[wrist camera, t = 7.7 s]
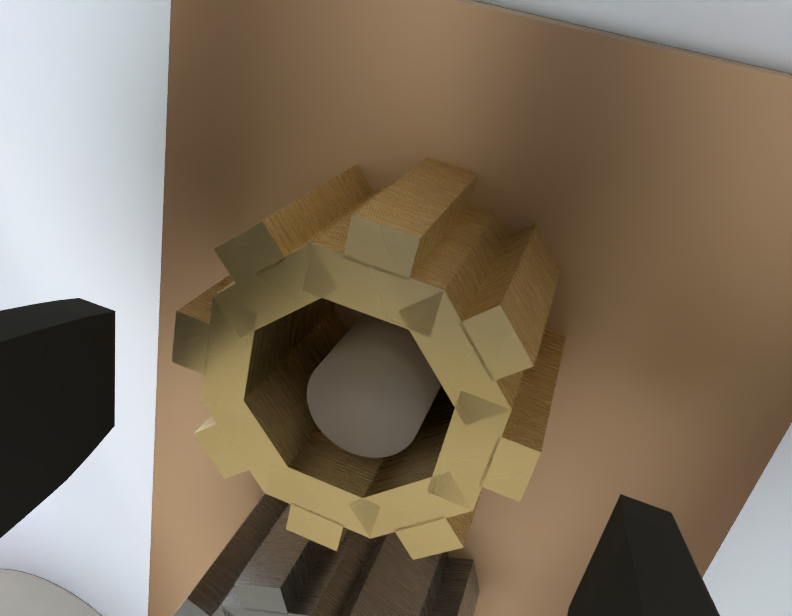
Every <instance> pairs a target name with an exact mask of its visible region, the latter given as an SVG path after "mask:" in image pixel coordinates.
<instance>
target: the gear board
mask: <svg viewBox="0 0 792 616" xmlns="http://www.w3.org/2000/svg"><path fill="white" fill-rule="evenodd" d="M427 157H428V158H431V159H434V160H437V161H441V162H444V163H447V164H450V165H453V166H456V167H459V168H462V169H466V170H469V171H472V172H475V173H478V176H477V179H476V182H475V186H474V189H473V192H472V196H471V199H470V203H469V204H470V205H473V206H476V207H479V208H482V209H485V210H488V211H491V212H494V213H495V214H496V216H497V218H498V219H499V221H500V223H501V225H502V227H503V229H504V231H505V233H506V234H507V236H510V235H512V234H514V233H516V232H519V231H521V230H523V229H525V228H527V227H529V226H531V225H533V224H536V223H537V224H538V226H539V228H540V229H541V231H542V233H543V235H544V237H545V239H546V241H547V243H548V245H549V247H550V249H551V250H552V252H553V254H554V256H555V258H556V260H557V262H558V264H559V266H560V268H561V272H560V276H559V279H558V283H557V286H556V290H555V293H554V297H553V301H552V304H551V308H550V311H549V315H548V318H547V322H546V325H545V329H544V330H546V331H549V332H552V333H554V334H557V335H560V336H563V337H566V339H565V343H564V348H563V353H562V357H561V362H560V367H559V371H558V376H557V381H556V386H555V390H554V395H553V400H552V404H551V409H550V414H549V418H548V423H547V428H546V433H545V437H544V442H543V447H542V451H541V454H540V457H539V459H538V461H537V464H536V466H535V468H534V471H533V473H532V475H531V478H530V480H529V483H528V485H527V487H526V490H525V492H524V494H523V497H522V499H521V501H520V502H518V501H516V500H513V499H511V498H508V497H506V496H503V495H501V494H498V493H496V492H493V491H491V490H488V489H486V488H484V487H483V488H482V491H481V494H480V497H479V500H478V504H477V507H476V510H475V513H474V516H473V519H472V522H471V526H470V529H469V532H468V535H467V538H466V541H465V545H464V548H460V549H456V550H452V551H448V555H449V558H460V559H472V560H474V564H475V569H476V575H477V580H478V586H479V591H480V593H479V596H478V600H477V604H476V608H475V611H474V615H473V616H567V614H568V608H569V606H570V603H571V601H572V599H573V597H574V595H575V592H576V590H577V588H578V586H579V584H580V582H581V579H582V577H583V575H584V573H585V571H586V568H587V566H588V564H589V562H590V560H591V557H592V555H593V553H594V551H595V549H596V547H597V544H598V542H599V540H600V538H601V536H602V533H603V531H604V529H605V527H606V525H607V522H608V520H609V518H610V516H611V514H612V512H613V509H614V507H615V505H616V503H617V501H618V498H619V496H620V494H622V495H625V496H628V497H630V498H633V499H636V500H639V501H641V502H644V503H647V504H650V505H652V506H655V507H658V508H661V509H663V510H666V511H669V512H671V513H672V515H673V517H674V519H675V521H676V523H677V525H678V527H679V529H680V531H681V533H682V536H683V538H684V540H685V542H686V544H687V546H688V549H689V551H690V553H691V555H692V557H693V560H694V562H695V564H696V566H697V568H698V570H699V573H700V575H701V577H703V575H704V574H705V572H706V570H707V568H708V567H709V565H710V563H711V561H712V560H713V558H714V556H715V554H716V553H717V551H718V549H719V548H720V546H721V544H722V542H723V541H724V539H725V537H726V535H727V534H728V532H729V530H730V528H731V527H732V525H733V523H734V521H735V520H736V518H737V516H738V515H739V513H740V511H741V509H742V508H743V506H744V504H745V502H746V501H747V499H748V497H749V495H750V494H751V492H752V490H753V488H754V487H755V485H756V483H757V481H758V480H759V478H760V476H761V475H762V473H763V471H764V469H765V468H766V466H767V464H768V462H769V461H770V459H771V457H772V455H773V454H774V452H775V450H776V448H777V447H778V445H779V443H780V442H781V440H782V438H783V436H784V435H785V433H786V431H787V429H788V428H789V426H790V424H791V422H792V74H788V73H783V72H779V71H775V70H770V69H766V68H762V67H757V66H753V65H749V64H744V63H740V62H736V61H732V60H727V59H723V58H719V57H714V56H710V55H706V54H701V53H697V52H693V51H688V50H684V49H680V48H675V47H671V46H667V45H663V44H658V43H654V42H650V41H645V40H641V39H637V38H632V37H628V36H624V35H619V34H615V33H611V32H606V31H602V30H598V29H594V28H589V27H585V26H581V25H576V24H572V23H568V22H563V21H559V20H555V19H550V18H546V17H542V16H538V15H533V14H529V13H525V12H520V11H516V10H512V9H507V8H503V7H499V6H494V5H490V4H486V3H481V2H477V1H473V0H171V18H170V45H169V71H168V98H167V125H166V151H165V178H164V204H163V231H162V257H161V284H160V310H159V337H158V363H157V390H156V417H155V443H154V470H153V496H152V523H151V549H150V576H149V602H148V616H173V615H174V613H175V612H176V611H177V609H178V608H179V607H180V605H181V604H182V603H183V601H184V600H185V599H186V597H187V596H188V595H189V593H190V592H191V591H192V589H193V588H194V587H195V585H196V584H197V583H198V581H199V580H200V579H201V577H202V576H203V575H204V573H205V572H206V571H207V569H208V568H209V567H210V565H211V564H212V563H213V561H214V560H215V559H216V557H217V556H218V555H219V553H220V552H221V551H222V549H223V548H224V547H225V545H226V544H227V543H228V541H229V540H230V539H231V537H232V536H233V535H234V533H235V532H236V531H237V529H238V528H239V527H240V525H241V524H242V523H243V521H244V520H245V519H246V517H247V516H248V515H249V513H250V512H251V511H252V509H253V508H254V507H255V505H256V504H257V503H258V501H259V500H260V499H261V498H262V496H263V495H264V494H265V493H264V491H263V490H262V488H261V487H260V485H259V484H258V483H257V481H256V480H255V478H254V477H253V475H252V474H251V472H250V471H249V470H248V471H245V472H242V473H240V474H237V475H234V476H231V477H229V478H226V479H224V478H223V476H222V475H221V473H220V472H219V470H218V469H217V467H216V466H215V465H214V463H213V462H212V460H211V459H210V457H209V456H208V454H207V453H206V452H205V450H204V449H203V447H202V446H201V444H200V443H199V442H198V440H197V439H196V437H195V436H194V433H195V432H196V431H197V430H198V429H199V428H200V427H201V426H202V425H203V424H204V423H205V422H206V421H207V420H208V419H209V418H210V417H211V416H212V415H211V414H210V412H209V411H208V409H207V408H206V406H205V405H204V403H203V402H202V400H201V393H202V385H203V376H204V375H203V374H200V373H198V372H195V371H193V370H190V369H188V368H185V367H183V366H180V365H178V364H175V363H173V362H172V352H173V341H174V329H175V318H176V311H177V310H179V309H180V308H181V307H183V306H184V305H186V304H187V303H189V302H190V301H192V300H193V299H195V298H196V297H198V296H199V295H200V294H202V293H203V292H205V291H206V290H208V289H209V288H211V287H212V286H214V285H215V284H217V283H218V282H219V281H221V280H222V279H224V278H225V277H227V276H228V275H230V274H229V272H228V271H227V269H226V268H225V266H224V264H223V263H222V261H221V260H220V258H219V257H218V255H217V253H216V252H215V250H214V249H215V248H217V247H219V246H220V245H222V244H224V243H225V242H227V241H229V240H230V239H232V238H234V237H235V236H237V235H239V234H240V233H242V232H244V231H245V230H247V229H249V228H250V227H252V226H254V225H255V224H257V223H259V222H260V221H262V220H264V219H265V218H267V217H269V216H270V215H272V214H274V213H275V212H277V211H279V210H280V209H282V208H284V207H285V206H287V205H289V204H290V203H292V202H294V201H295V200H297V199H299V198H300V197H302V196H304V195H305V194H307V193H309V192H310V191H312V190H314V189H315V188H317V187H319V186H320V185H322V184H324V183H326V182H327V181H329V180H331V179H332V178H334V177H336V176H338V175H339V174H341V173H343V172H344V171H346V170H348V169H349V168H351V167H353V166H355V165H356V164H358V166H359V168H360V170H361V171H362V173H363V175H364V177H365V178H366V180H367V182H368V183H369V185H370V187H371V189H372V190H373V191H375V190H377V189H379V188H381V187H382V186H384V185H386V184H388V183H390V182H391V181H393V180H398V179H400V178H401V177H402V176H404V175H405V174H406V173H407V172H409V171H410V170H411V169H413V168H414V167H415V166H417V165H418V164H419V163H420V162H422V161H423V160H424V159H426V158H427ZM334 309H335V311H336V313H337V314H338V316H339V318H340V319H341V321H342V322H343V324H344V326H345V327H346V329H347V331H348V332H347V333H346V334H345V335H344V336H343V338H342V339H341V340H340V341H339V342H338V343H337V345H336V346H335V347H334V348H333V349H332V350H331V351H330V353H329V354H328V355H327V356H326V357H325V358H324V360H323V361H322V362H321V363H320V364H319V365H318V367H317V368H316V369H315V370H314V372H313V373H312V375H311V377H310V380H309V383H308V387H307V402H308V407H309V410H310V413H311V415H312V418H313V420H314V421H315V423H316V425H317V426H318V428H319V429H320V430H321V431H322V433H323V434H324V435H325V436H326V437H327V438H328V439H329V440H331V441H332V442H333V443H334V444H336V445H337V446H339V447H340V448H342V449H344V450H346V451H348V452H350V453H353V454H356V455H359V456H363V457H370V458H381V457H388V456H391V455H394V454H396V453H399V452H401V451H402V450H404V449H405V448H406V447H407V446H408V445H409V444H410V443H411V442H412V441H413V440H414V438H415V436H416V434H417V432H418V430H419V428H420V426H421V424H422V422H423V420H424V418H425V416H426V414H427V413H428V411H429V409H430V407H431V405H432V403H433V401H434V399H435V397H436V395H437V393H438V391H439V389H440V387H441V383H440V381H439V380H438V378H437V376H436V375H435V373H434V371H433V370H432V368H431V366H430V364H429V363H428V361H427V359H426V358H425V356H424V354H423V353H422V351H421V349H420V348H419V346H418V344H417V342H416V341H415V339H414V337H413V336H412V334H411V332H410V331H409V330H408V329H406V328H403V327H400V326H398V325H395V324H392V323H389V322H387V321H384V320H381V319H378V318H376V317H373V316H370V315H368V314H365V313H362V312H359V311H357V310H354V309H351V308H349V307H346V306H343V305H340V304H338V303H335V305H334Z"/></svg>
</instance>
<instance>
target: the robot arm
mask: <svg viewBox="0 0 792 616" xmlns="http://www.w3.org/2000/svg"><path fill="white" fill-rule="evenodd" d="M114 424H115V311H113V310H111V309H108V308H105V307H102V306H100V305H97V304H94V303H91V302H89V301H86V300H83V299H80V298H76V299H67V300H58V301H51V302H45V303H39V304H33V305H28V306H22V307H17V308H12V309H7V310H2V311H0V538H1V537H2V536H3V535H5V534H6V533H7V532H8V531H9V530H10V529H11V528H13V527H14V526H15V525H16V524H17V523H18V522H20V521H21V520H22V519H23V518H24V517H25V516H26V515H28V514H29V513H30V512H31V511H32V510H33V509H34V508H36V507H37V506H38V505H39V504H40V503H41V502H42V501H44V500H45V499H46V498H47V497H48V496H49V495H50V494H52V493H53V492H54V491H55V490H56V489H57V488H58V487H59V486H60V485H62V484H63V483H64V482H65V481H66V480H67V479H68V478H69V477H70V476H71V475H72V474H73V472H74V471H75V470H76V469H77V468H78V467H79V466H80V465H81V464H82V463H83V462H84V461H85V459H86V458H87V457H88V456H89V455H90V454H91V453H92V452H93V450H94V449H95V448H96V447H97V446H98V445H99V443H100V442H101V441H102V440H103V439H104V438H105V436H106V435H107V434H108V433H109V432H110V430H111V429H112V428H113V427H114ZM567 616H720V615H719V613H718V611H717V609H716V607H715V605H714V603H713V600H712V598H711V596H710V594H709V592H708V590H707V588H706V586H705V583H704V581H703V579H702V577H701V575H700V573H699V570H698V568H697V566H696V564H695V562H694V560H693V557H692V555H691V553H690V551H689V549H688V546H687V544H686V542H685V540H684V538H683V536H682V533H681V531H680V529H679V527H678V525H677V523H676V521H675V519H674V517H673V515H672V513H671V512H669V511H666V510H663V509H661V508H658V507H655V506H652V505H650V504H647V503H644V502H641V501H639V500H636V499H633V498H630V497H628V496H625V495H622V494H620V496H619V498H618V501H617V503H616V505H615V507H614V509H613V512H612V514H611V516H610V518H609V520H608V522H607V525H606V527H605V529H604V531H603V533H602V536H601V538H600V540H599V542H598V544H597V547H596V549H595V551H594V553H593V555H592V557H591V560H590V562H589V564H588V566H587V568H586V571H585V573H584V575H583V577H582V579H581V582H580V584H579V586H578V588H577V590H576V592H575V595H574V597H573V599H572V601H571V603H570V606H569V608H568V614H567Z"/></svg>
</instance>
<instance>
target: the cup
mask: <svg viewBox="0 0 792 616" xmlns="http://www.w3.org/2000/svg"><path fill="white" fill-rule="evenodd" d="M0 616H101V615H100V614H99V613H97V612H96V611H95V610H94V609H93V608H91V607H90V606H89V605H87V604H86V603H85V602H83V601H82V600H81V599H79V598H78V597H76V596H75V595H73V594H71V593H70V592H68V591H66V590H65V589H63V588H61V587H59V586H57V585H55V584H53V583H51V582H49V581H47V580H44V579H42V578H40V577H37V576H34V575H31V574H27V573H24V572H19V571H14V570H4V569H0Z"/></svg>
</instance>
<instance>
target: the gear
mask: <svg viewBox="0 0 792 616" xmlns="http://www.w3.org/2000/svg"><path fill="white" fill-rule="evenodd" d="M290 507H291V504H289V503H286V502H284V501H282V500H279V499H277V498H275V497H272V496H270V495H268V494H264V495H263V496H262V498H261V499H260V500H259V501H258V503H257V504H256V505H255V507H254V508H253V509H252V511H251V512H250V513H249V515H248V516H247V517H246V519H245V520H244V521H243V523H242V524H241V525H240V527H239V528H238V529H237V531H236V532H235V533H234V535H233V536H232V537H231V539H230V540H229V541H228V543H227V544H226V545H225V547H224V548H223V549H222V551H221V552H220V553H219V555H218V556H217V557H216V559H215V560H214V561H213V563H212V564H211V565H210V567H209V568H208V569H207V571H206V572H205V573H204V575H203V576H202V577H201V579H200V580H199V581H198V583H197V584H196V585H195V587H194V588H193V589H192V591H191V592H190V593H189V595H188V596H187V597H186V599H185V600H184V601H183V603H182V604H181V605H180V607H179V608H178V609H177V611H176V612H175V613H174V615H173V616H473V615H474V611H475V608H476V604H477V600H478V596H479V593H480V591H479V586H478V580H477V575H476V569H475V564H474V560H472V559H460V558H449V555H448V551H447V552H443V553H439V554H435V555H431V556H427V557H423V558H419V559H415V560H413V559H412V558H411V556H410V555H409V553H408V551H407V550H406V548H405V547H404V545H403V544H402V542H401V541H400V539H399V537H398V536H397V534H396V533H395V532H393V533H389V534H386V535H382V536H378V537H375V538H371V539H370V538H368V537H366V536H363V535H361V534H359V533H356V532H354V531H352V530H348V532H347V533H346V535H345V537H344V539H343V541H342V543H341V544H340V546H339V548H338V550H337V551H335V550H332V549H330V548H328V547H326V546H323V545H321V544H319V543H316V542H314V541H312V540H309V539H307V538H305V537H303V536H300V535H298V534H296V533H293V532H291V531H289V530H287V529H286V526H287V521H288V516H289V511H290Z"/></svg>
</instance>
